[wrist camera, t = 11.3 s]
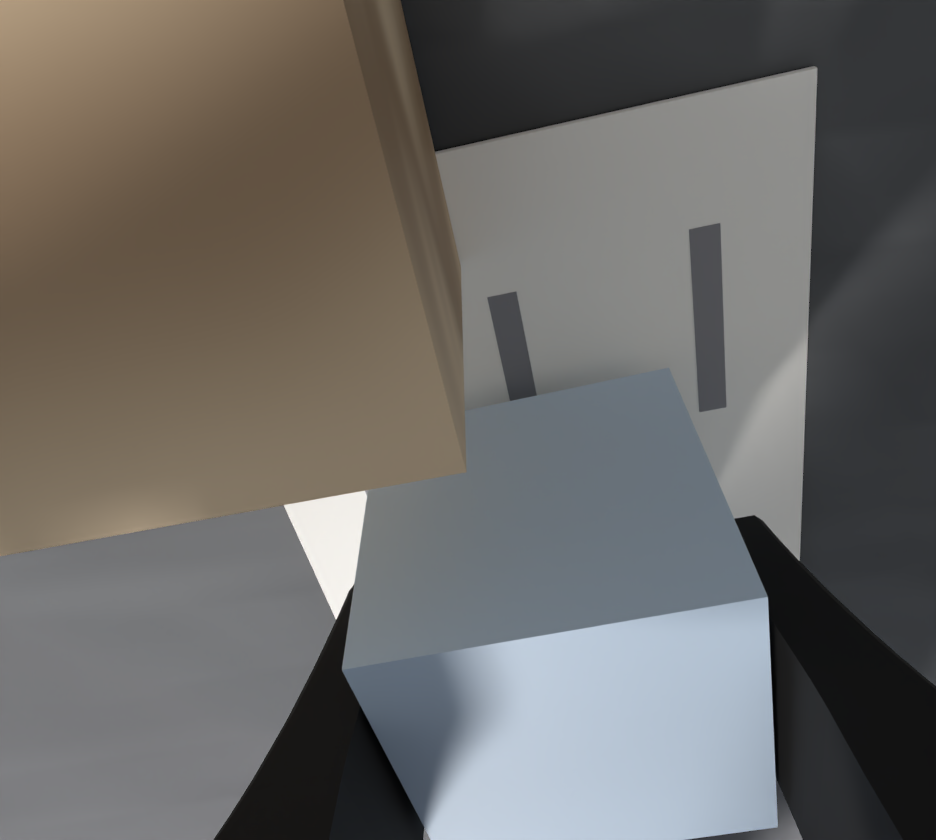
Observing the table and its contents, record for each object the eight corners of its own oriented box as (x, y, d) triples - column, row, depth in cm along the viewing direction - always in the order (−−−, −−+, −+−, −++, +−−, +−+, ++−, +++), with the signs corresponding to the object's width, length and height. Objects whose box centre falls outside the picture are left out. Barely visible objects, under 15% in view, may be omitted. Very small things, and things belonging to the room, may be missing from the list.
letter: (794, 659, 17) (796, 664, 17) (385, 722, 18) (385, 727, 18) (814, 65, 10) (817, 67, 10) (155, 215, 11) (152, 218, 11)
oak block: (460, 266, 11) (465, 473, 7) (134, 333, 12) (-40, 562, 8) (365, -154, 9) (285, -221, 4) (-49, -45, 9) (-473, -13, 5)
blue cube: (693, 578, 14) (777, 826, 10) (450, 620, 15) (447, 871, 11) (668, 367, 12) (767, 596, 8) (376, 429, 12) (341, 670, 8)
